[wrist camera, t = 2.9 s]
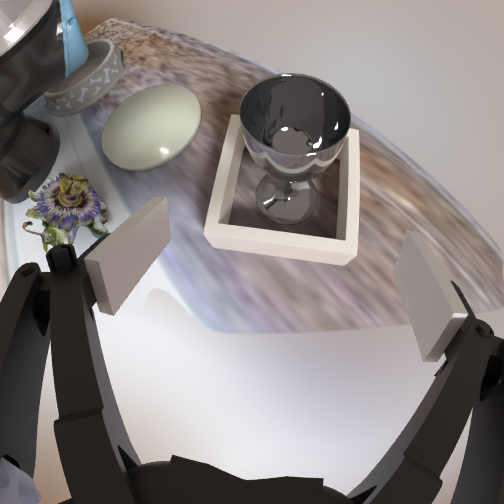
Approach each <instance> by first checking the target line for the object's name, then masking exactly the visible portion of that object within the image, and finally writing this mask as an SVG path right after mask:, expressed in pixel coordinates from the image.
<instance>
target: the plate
mask: <svg viewBox="0 0 504 504" xmlns="http://www.w3.org/2000/svg"><path fill="white" fill-rule="evenodd" d="M201 119H202V113H201V108H200V105H199V102H198V100H197V98H196V96H195V95H194V94H193V93H192V92H191V91H190V90H188V89H186V88H184V87H182V86H178V85H171V84H165V85H157V86H152V87H149V88H146V89H144V90H141V91H139V92H137V93H135V94H133V95H132V96H130V97H129V98H127V99H126V100H125V101H123V102H122V103H121V104H120V105H119V106H118V107H117V108H116V109H115V110H114V112H113V113H112V114H111V116H110V117H109V118H108V120H107V122H106V124H105V127H104V129H103V133H102V148H103V151H104V153H105V155H106V156H107V158H108V159H109V160H110V161H111V162H112V163H113V164H114V165H116V166H117V167H119V168H121V169H124V170H128V171H143V170H148V169H152V168H155V167H158V166H161V165H163V164H165V163H167V162H168V161H170V160H172V159H173V158H175V157H176V156H177V155H179V154H180V153H181V152H182V151H183V150H185V149H186V148H187V146H188V145H189V144H190V143H191V142H192V140H193V139H194V138H195V136H196V134H197V132H198V130H199V128H200V124H201Z"/></svg>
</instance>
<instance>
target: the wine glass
mask: <svg viewBox="0 0 504 504" xmlns="http://www.w3.org/2000/svg"><path fill="white" fill-rule="evenodd" d="M239 113H240V123H241V128H242V133H243V137H244V140H245V144H246V146H247V148H248V151H249V153H250V155H251V156H252V158H253V160H254V161H255V163H256V164H257V165H258V167H259V168H260V169H261V170H262V171H263V172H265V173H266V174H267V175H266V176H265V177H264V178H263V179H262V180H261V181H260V183H259V185H258V187H257V190H256V202H257V205H258V208H259V210H260V211H261V212H262V214H263V215H264V216H265V217H266V218H268V219H269V220H271V221H273V222H275V223H278V224H282V225H293V224H298V223H300V222H303V221H304V220H306V219H307V218H308V217H310V216H311V215H312V213H313V212H314V210H315V208H316V205H317V201H318V195H317V190H316V187H315V185H314V184H313V182H312V181H311V180H312V179H314V178H315V177H317V176H319V175H320V174H322V173H323V172H324V171H325V170H326V169H327V168H328V167H329V166H330V165H331V164H332V162H333V161H334V160H335V158H336V157H337V155H338V154H339V152H340V150H341V148H342V146H343V144H344V141H345V139H346V137H347V134H348V131H349V128H350V122H351V113H350V109H349V106H348V104H347V102H346V100H345V99H344V97H343V96H342V95H341V94H340V93H339V92H338V91H337V90H336V89H335V88H334V87H332V86H331V85H329V84H328V83H326V82H324V81H322V80H320V79H318V78H315V77H312V76H308V75H304V74H295V73H285V74H277V75H273V76H269V77H266V78H264V79H262V80H260V81H258V82H256V83H255V84H253V85H252V86H251V87H250V88H249V89H248V90H247V91H246V93H245V94H244V95H243V97H242V100H241V102H240V107H239Z"/></svg>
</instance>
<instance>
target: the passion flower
mask: <svg viewBox="0 0 504 504" xmlns="http://www.w3.org/2000/svg"><path fill="white" fill-rule="evenodd" d="M56 178H57V177H56ZM88 182H89V180H87V179H84V178H83V177H82V176H78V175H71V176H70V175H67V174H65V173H60V174H59V178H57V180H56V181H54V180H52V179H50V178H48V179H47V180H46V182H45V186H44V185H43V187H42V189H44V192H42V191H40V192H41V193H35V192H33V191H31V190H30V191H29V196H30V198H31V199H32V200H33V201H35V202H39V203H37V206H34V207H33V208H32V209H28V210H27V213H26V216H29V217H32V218H37V219H41V220H42V222H43V223H42V225H43V226H44V227H45V229H44V231H43V233H42V234H40V233H36V232H32V231H29V230H26V229H25V227H27V226H28V225H32V222H31V221H29V222H25V223H23V225H22V227H23V229H24V230H25V231H27V232H30V233H33V234H36V235H40V236H41V237H42V241H43V248H44V250H45V251H46V252H47V244H51V245H52V246H53V247H55V246H57V245H60V244H71V245H72V244H73V241H74V238H75V235H76V232H77V229H78V228H79V227H80V226H83V225H84V226H86V227H88V228H89V229H90V231H91V233H92V234H93V235H94V236H95V237H96V238H100V237H102V236H104V235H106V234H107V232H108V230H107V229H106V228H105V227H104V225H103V224H104V223H106V222H107V221H108V220H107V219H106V218H104V217H102V215H101V213H103V212H104V211H105V210H106V209H107V205H106V204H105V203H103V202H101V201H100V197H98V195H96V192H95V191H94V192H93V187H92V186H91V185H89V184H88ZM48 233H50V234H51V235H52V236H54V237H52V236H50V235H49V234H48ZM56 244H57V245H56Z"/></svg>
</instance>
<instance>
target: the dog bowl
mask: <svg viewBox="0 0 504 504" xmlns="http://www.w3.org/2000/svg"><path fill="white" fill-rule="evenodd" d="M86 45H87V48H88V52H89V54H88V58H87V60H86V62H85V63H84V64H83V65H82V66H80V67H79V68H77V69H76V70H75V71H73V72H72V73H71V74H69V76H68V77H67V78H66V79H65V78H64V79H63V80H61V81H60V82H59V83H57V84H56V85H55V86H53V87H52V88H51V89H49V90H48V91H47V92H45V93H44V94H43V96H44V98H45V100H46V103H47V105H48V107H49V110H50V112H51V113H52V114H53V115H55V116H59V117H65V116H70V115H73V114H76V113H78V112H80V111H82V110H84V109H86V108H88V107H89V106H91V105H92V104H94V103H95V102H97V101H98V100H99V99H100V98H102V97H103V96H104V95H105V94H106V93H107V92H108V91H109V90H110V89H111V88H112V87H113V86H114V85H115V84H116V83H117V82H118V80H119V79H120V78H121V76H122V75H123V73H124V71H125V69H124V67H123V64H122V60H121V53H123V52H122V51H121V50H120V48H118V47H117V46H116V45H115V43H114V42H113V41H111V40H110V39H96V40H92V41H89V42H87V43H86Z"/></svg>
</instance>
